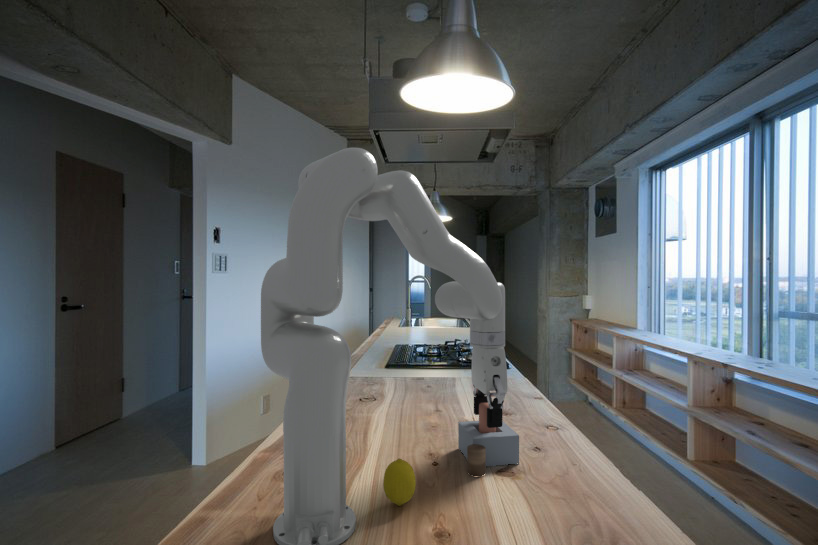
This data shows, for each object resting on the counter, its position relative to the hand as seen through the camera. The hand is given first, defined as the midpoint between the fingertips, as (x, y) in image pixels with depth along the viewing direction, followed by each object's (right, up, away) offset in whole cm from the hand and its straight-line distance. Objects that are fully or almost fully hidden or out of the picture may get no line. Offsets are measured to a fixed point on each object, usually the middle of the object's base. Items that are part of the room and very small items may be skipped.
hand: (487, 419), depth 94 cm
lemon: (-19, -8, -20) cm, 28 cm away
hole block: (0, -8, 0) cm, 8 cm away
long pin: (0, -8, 0) cm, 8 cm away
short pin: (-4, -8, -8) cm, 12 cm away
